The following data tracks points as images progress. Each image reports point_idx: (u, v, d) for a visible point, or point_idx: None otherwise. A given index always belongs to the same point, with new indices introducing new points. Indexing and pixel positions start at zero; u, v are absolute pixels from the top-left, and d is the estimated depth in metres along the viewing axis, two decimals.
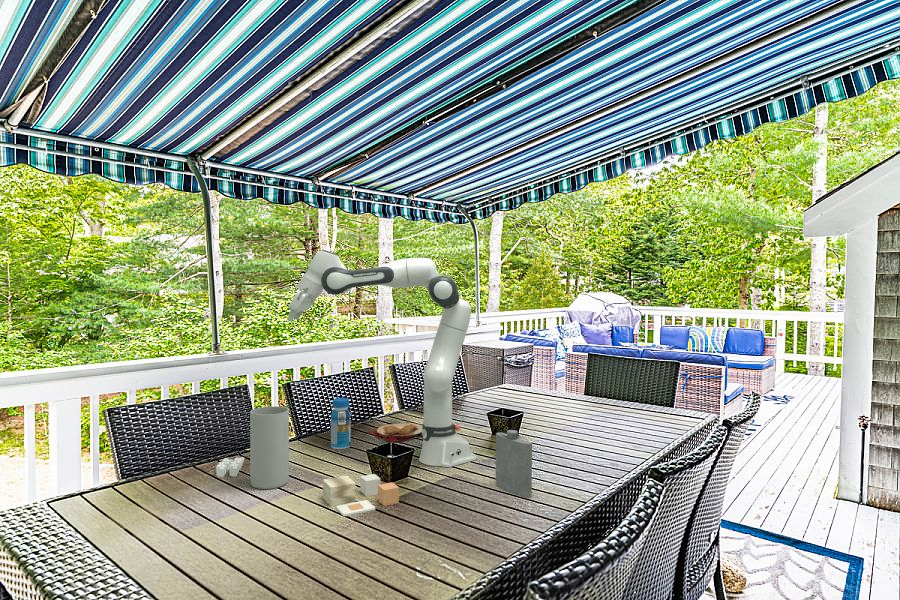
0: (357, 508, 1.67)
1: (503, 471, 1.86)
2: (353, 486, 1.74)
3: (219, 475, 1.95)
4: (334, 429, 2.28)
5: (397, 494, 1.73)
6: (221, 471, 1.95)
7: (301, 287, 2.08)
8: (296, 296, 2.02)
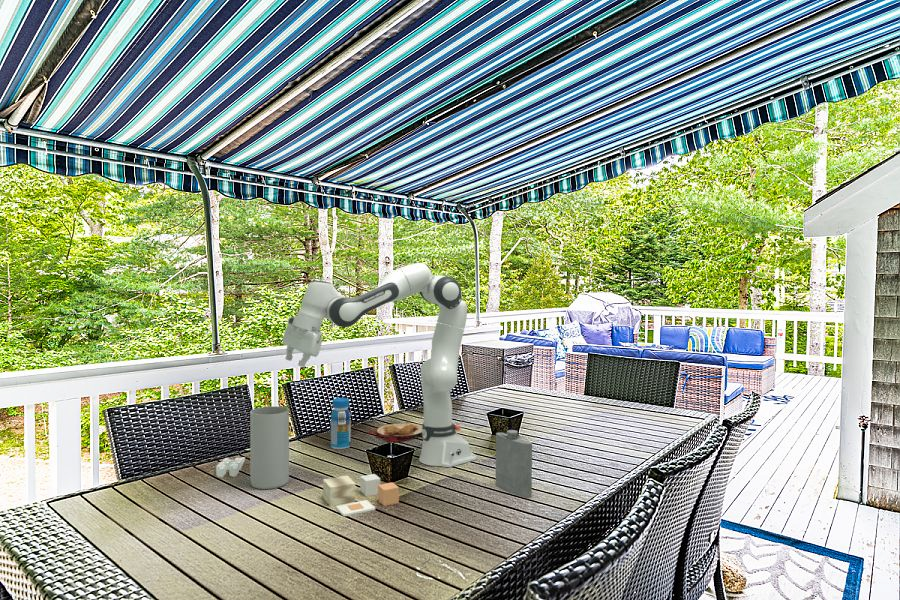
0: (357, 508, 1.67)
1: (503, 470, 1.86)
2: (353, 486, 1.74)
3: (219, 475, 1.95)
4: (334, 429, 2.28)
5: (397, 494, 1.73)
6: (221, 471, 1.95)
7: (306, 327, 1.87)
8: (315, 340, 1.84)
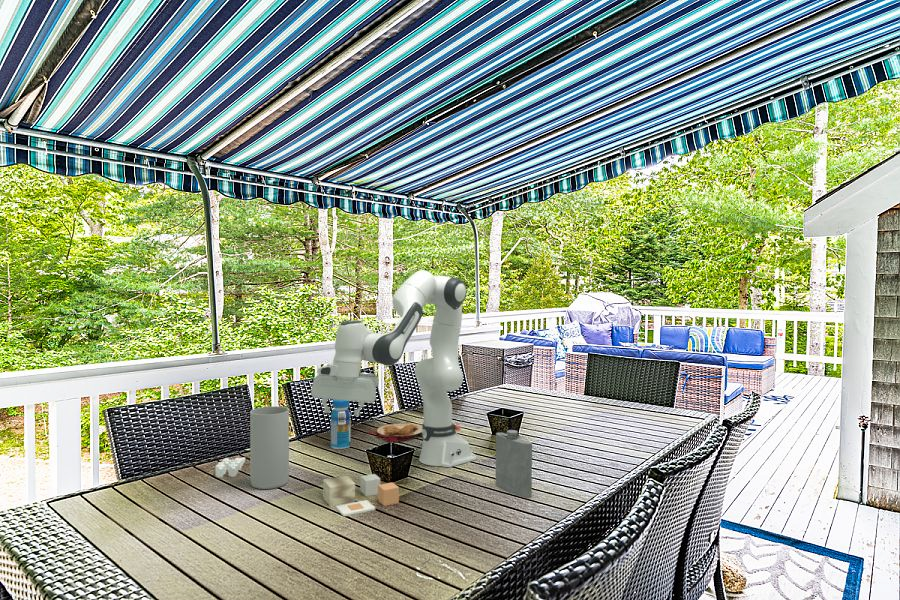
0: (357, 508, 1.67)
1: (503, 471, 1.86)
2: (353, 486, 1.74)
3: (218, 475, 1.95)
4: (334, 429, 2.28)
5: (397, 494, 1.73)
6: (220, 471, 1.95)
7: (356, 375, 1.74)
8: (374, 386, 1.75)
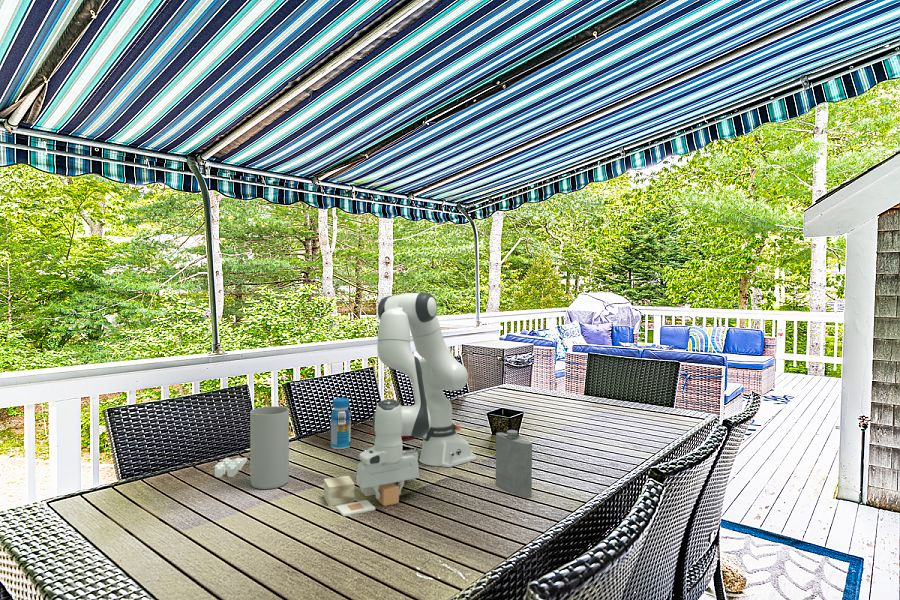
0: (357, 508, 1.67)
1: (503, 471, 1.86)
2: (352, 487, 1.73)
3: (217, 475, 1.95)
4: (334, 429, 2.28)
5: (397, 494, 1.73)
6: (219, 471, 1.95)
7: None
8: None
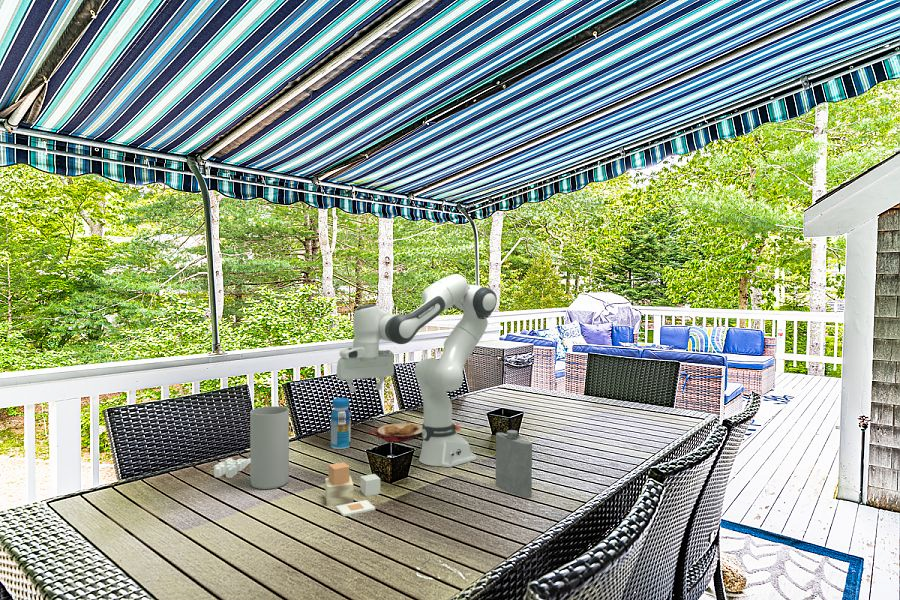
0: (357, 508, 1.67)
1: (503, 471, 1.86)
2: (351, 487, 1.73)
3: (215, 475, 1.95)
4: (334, 429, 2.28)
5: (348, 473, 1.75)
6: (217, 471, 1.95)
7: (378, 353, 1.93)
8: None
